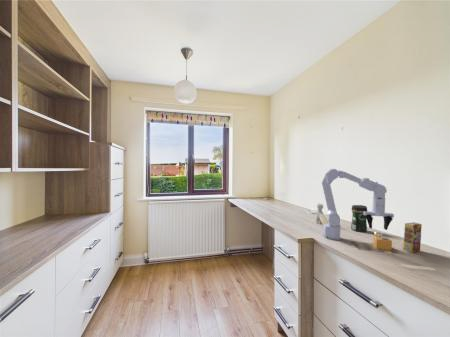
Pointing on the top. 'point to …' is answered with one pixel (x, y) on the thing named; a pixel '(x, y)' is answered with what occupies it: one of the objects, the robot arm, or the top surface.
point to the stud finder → (382, 243)
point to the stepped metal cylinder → (378, 234)
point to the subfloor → (373, 248)
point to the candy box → (412, 237)
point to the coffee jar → (359, 218)
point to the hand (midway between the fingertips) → (377, 228)
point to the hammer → (320, 215)
